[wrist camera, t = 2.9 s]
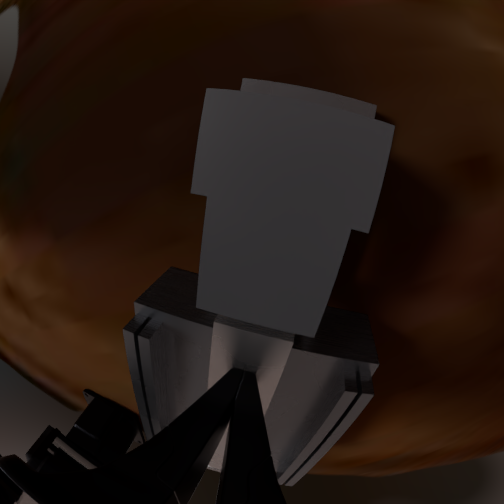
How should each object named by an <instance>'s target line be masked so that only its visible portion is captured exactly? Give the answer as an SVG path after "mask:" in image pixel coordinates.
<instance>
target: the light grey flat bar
mask: <svg viewBox="0 0 504 504" xmlns="http://www.w3.org/2000/svg"><path fill="white" fill-rule="evenodd" d="M294 336H295V333H290V332H286V331H282V330H277V329H273V328H269V327H265V326H261V325H257V324H253V323H249V322H246V321H242V320H238V319H234V318H231V317H227V316H223V315H220V314H217V316H216V318H215V320H214V323H213V333H212V344H211V354H210V365H209V377H208V389H209V388H211V387H212V386H213V385H214V384H215V383H216V382H217V381H218V380H219V379H220V378H221V377H222V376H224V375H225V374H226V373H227V372H228V371H229V370H230V369H231V368H237V369H241V370H243V373H244V371H249V372H253V373H255V374H256V377H257V382H258V387H259V393H260V398H261V403H262V408H263V414H264V416H265V413H266V411H267V409H268V406H269V404H270V402H271V399H272V397H273V394H274V392H275V390H276V387H277V385H278V382H279V380H280V377H281V374H282V372H283V369H284V367H285V364H286V362H287V359H288V356H289V354H290V351H291V348H292V346H293V343H294ZM208 389H207V390H208ZM229 422H230V421H229ZM228 427H229V424H228V426H227V428H226V431H225V433H224V435H223V437H222V439H221V441H220V443H219V445H218V447H217V449H216V451H215V453H214V455H213V457H212V459H211V461H210V463H209V465H208V466H210V467H213V468H217V469H220V470H221V468H222V462H223V456H224V450H225V444H226V438H227V432H228Z"/></svg>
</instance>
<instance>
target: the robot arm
mask: <svg viewBox="0 0 504 504" xmlns="http://www.w3.org/2000/svg"><path fill="white" fill-rule="evenodd" d="M83 394H84V396H85V399H86V401H87V403H88V406H87V408H86V409H85V410H84V412H83V413H82V414H81V415H80V417H79V418H78V420H77V421H76V422H75V424H74V426H73V427H72V429H71V430H70V432H69V433H68V434H67V435H66V437H65V436H64V435H63V434H62V433H61V432H60V431H59V430H58V429H57V428H56V429H54V428H53V427H51V426H50V425H49V426H48V427H47V428H46V430H45V431H44V432H43V433H42V434H41V436H40V437H39V438H38V440H37V441H36V442H35V443H34V444H33V446H32V447H31V448H30V449H29V451H28V452H27V453H26V459H27V463H25V462H24V461H23V460H22V459H21V458H19V457H18V456H17V455H15V454H13V455H9V456H4V457H2V456H1V454H0V504H188V502H189V500H190V499H191V497H192V495H193V493H194V491H195V489H196V488H197V486H198V483H199V482H200V480H201V478H202V476H203V474H204V472H205V470H206V469H207V467H208V465H209V463H210V461H211V459H212V457H213V455H214V453H215V451H216V449H217V447H218V445H219V443H220V441H221V439H222V437H223V435H224V433H225V431H226V428H227V426H228V424H229V427H228V432H227V438H226V444H225V450H224V456H223V462H222V468H221V474H220V481H219V487H218V492H217V498H216V504H286V501H285V499H284V496H283V494H282V491H281V489H280V486H279V482H278V479H277V476H276V472H275V468H274V463H273V458H272V456H271V449H270V444H269V439H268V434H267V429H266V424H265V419H264V414H263V408H262V403H261V398H260V393H259V387H258V382H257V377H256V374H255V373H253V372H249V371H244V373H243V370H241V369H237V368H231V369H230V370H229V371H228V372H227V373H226V374H225V375H224V376H222V377H221V378H220V379H219V380H218V381H217V382H216V383H215V384H214V385H213V386H212V387H211V388H209V389H208V390H207V391H206V392H205V393H204V394H203V395H202V396H201V397H200V398H198V399H197V400H196V401H195V402H194V403H193V404H192V405H191V406H189V407H188V408H187V409H186V410H185V411H184V412H183V413H181V414H180V415H179V416H178V417H177V418H176V419H174V420H173V421H172V422H171V423H170V424H168V426H166V427H165V428H163V429H162V430H161V431H160V432H159V433H157V434H156V435H155V436H153V437H152V438H151V439H149V440H148V441H146V442H145V440H144V436H143V433H142V430H141V427H140V423H139V420H138V417H137V416H136V415H134V414H133V413H131V412H128V411H126V410H124V409H122V408H120V407H118V406H116V405H114V404H112V403H110V402H109V401H107V400H105V399H103V398H101V397H99V396H98V395H96V394H94V393H92V392H90V391H89V390H87V389H85V390H84V391H83ZM229 421H230V422H229ZM53 441H55V442H56V443H57V444H58V445H60V446H61V447H62V448H63V449H64V450H66V451H67V452H68V453H69V454H71V455H72V456H73V457H75V458H76V459H77V460H78V461H80V462H81V463H83V464H84V465H85V466H87V467H88V468H89V469H87V468H85V467H84V466H83V465H81V464H80V463H79V462H77V461H76V460H75V459H73V458H72V457H71V456H69V455H68V454H67V453H65V452H64V451H63V450H62V449H61V448H57V447H56V446H55V445H54V444H52V442H53ZM133 441H135V442H137V443H140V444H142V445H140V446H138V447H137V448H135V449H133V450H132V451H130V452H128V453H127V451H128V449H129V447H130V446H131V444H132V442H133Z"/></svg>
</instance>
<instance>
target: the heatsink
mask: <svg viewBox="0 0 504 504" xmlns="http://www.w3.org/2000/svg"><path fill="white" fill-rule="evenodd" d="M198 277H199V274H195V273H192V272H188V271H185V270H181V269H177V268H174V267H170V268H169V269H168V270H167V271H166V272H165V273H164V274H163V275H162V276H161V277H159V278H158V279H157V280H156V281H155V282H154V283H153V284H152V285H151V286H150V287H149V288H148V289H147V290H146V291H145V292H144V293H143V294H142V295H141V296H140V297H139V298H138V299H137V300H136V301H135V302H134V306H135V316H134V317H133V319H132V320H131V321H130V322H129V323H128V324H127V325H126V326H125V327H124V328H123V335H124V341H125V347H126V353H127V359H128V364H129V369H130V374H131V379H132V384H133V388H134V393H135V397H136V401H137V405H138V409H139V413H140V417H141V421H142V424H143V428H144V431H145V434H146V438H147V441H148V440H149V439H151V438H152V437H153V436H155V435H156V434H157V433H159V432H160V431H161V430H162V429H163V428H165V427H166V426H168V424H170V423H171V422H172V421H173V420H174V419H176V418H177V417H178V416H179V415H180V414H181V413H183V412H184V411H185V410H186V409H187V408H188V407H189V406H191V405H192V404H193V403H194V402H195V401H196V400H197V399H198V398H200V397H201V396H202V395H203V394H204V393H205V392H206V391H207V389H208V377H209V365H210V354H211V344H212V333H213V323H214V320H215V318H216V316H217V314H216V313H213V312H209V311H206V310H203V309H199V308H196V301H197V288H198ZM378 366H379V360H378V356H377V351H376V347H375V343H374V339H373V335H372V331H371V327H370V323H369V319H368V315H365V314H360V313H356V312H351V311H346V310H342V309H337V308H333V307H328V306H326V308H325V311H324V313H323V316H322V319H321V321H320V324H319V327H318V329H317V332H316V334H315V337H314V338H313V337H308V336H304V335H299V334H295V336H294V343H293V346H292V348H291V351H290V354H289V356H288V359H287V362H286V364H285V367H284V369H283V372H282V374H281V377H280V380H279V382H278V385H277V387H276V390H275V392H274V394H273V397H272V399H271V402H270V404H269V406H268V409H267V411H266V413H265V416H264V419H265V424H266V429H267V434H268V439H269V444H270V449H271V456H272V458H273V463H274V468H275V472H277V473H276V476H277V479H278V482H279V484H280V485H282V484H283V483H284V482H285V485H286V486H293V485H294V484H295V483H296V482H297V481H298V480H300V479H301V478H302V477H303V476H304V475H305V474H306V473H307V472H308V471H309V470H310V469H311V468H312V467H313V466H314V465H315V464H316V463H317V462H318V461H319V460H320V459H321V458H322V457H323V456H324V455H325V454H326V453H327V452H328V451H329V450H330V448H331V447H332V446H333V445H334V444H335V443H336V442H337V441H338V440H339V438H340V437H341V436H342V435H343V434H344V433H345V431H346V430H347V429H348V428H349V427H350V426H351V424H352V423H353V422H354V421H355V419H356V418H357V417H358V416H359V414H360V413H361V412H362V411H363V409H364V408H365V407H366V405H367V404H368V403H369V401H370V400H371V399H372V397H373V396H374V389H373V383H372V375H373V374H374V372H375V371H376V369H377V368H378ZM207 469H211V470H214V471H218V472H221V470H220V469H217V468H213V467H210V466H208V467H207Z"/></svg>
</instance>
